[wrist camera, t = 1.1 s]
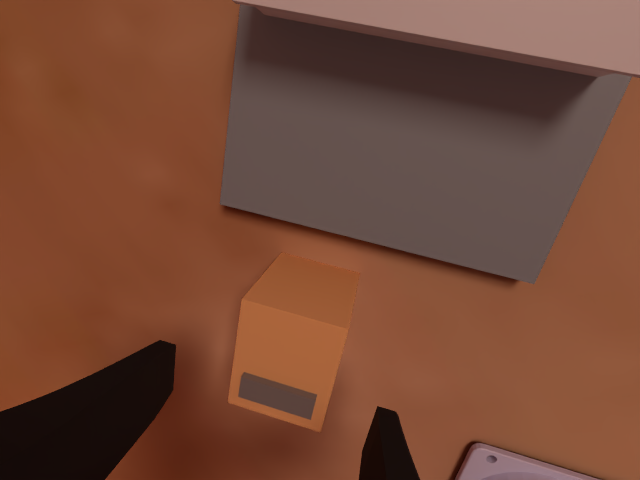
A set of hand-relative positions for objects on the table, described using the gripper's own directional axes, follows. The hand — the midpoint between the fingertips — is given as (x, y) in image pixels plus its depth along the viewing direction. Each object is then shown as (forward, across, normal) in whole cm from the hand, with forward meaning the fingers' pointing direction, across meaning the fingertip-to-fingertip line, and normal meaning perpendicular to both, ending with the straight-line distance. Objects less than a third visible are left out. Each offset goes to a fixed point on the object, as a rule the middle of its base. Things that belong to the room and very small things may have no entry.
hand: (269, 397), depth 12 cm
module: (+6, 0, 0) cm, 7 cm away
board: (+6, -2, -10) cm, 12 cm away
